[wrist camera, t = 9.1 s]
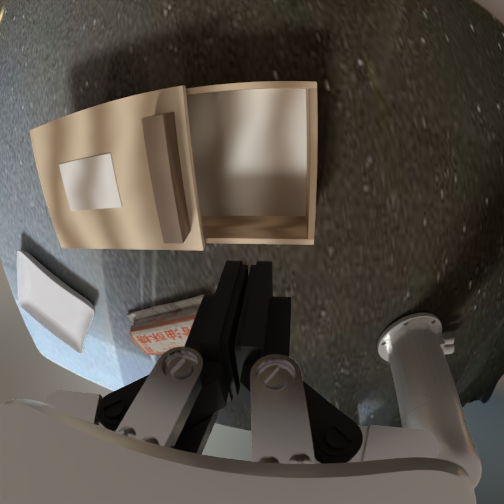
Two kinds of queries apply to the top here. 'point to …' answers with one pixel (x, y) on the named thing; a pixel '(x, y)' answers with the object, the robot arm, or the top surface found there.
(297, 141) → the mailer box
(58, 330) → the salad plate
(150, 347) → the packaged product
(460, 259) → the top surface
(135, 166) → the lid
